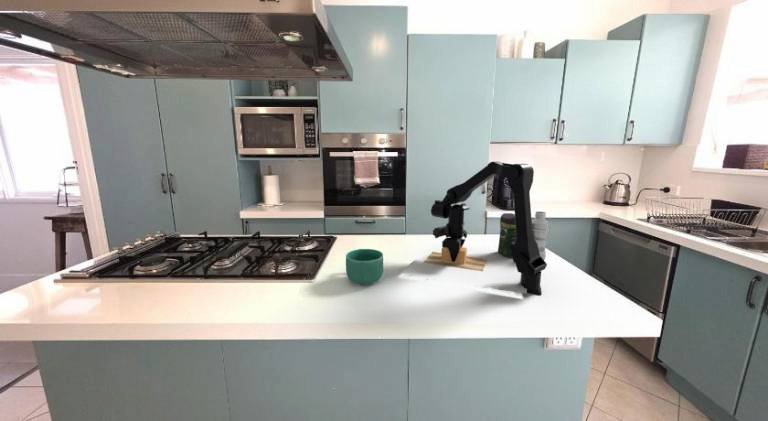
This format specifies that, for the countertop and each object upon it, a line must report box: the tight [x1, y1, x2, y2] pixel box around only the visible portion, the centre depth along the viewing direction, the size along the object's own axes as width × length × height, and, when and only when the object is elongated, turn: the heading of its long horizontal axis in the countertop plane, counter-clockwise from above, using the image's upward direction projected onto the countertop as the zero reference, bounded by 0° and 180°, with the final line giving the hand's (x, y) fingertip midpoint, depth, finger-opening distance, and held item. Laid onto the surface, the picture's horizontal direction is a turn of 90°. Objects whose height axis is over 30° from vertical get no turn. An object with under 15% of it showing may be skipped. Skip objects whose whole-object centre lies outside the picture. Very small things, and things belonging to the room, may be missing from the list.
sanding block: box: [440, 246, 468, 264], centre depth 118 cm, size 5×9×5 cm, turn 66°
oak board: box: [423, 251, 488, 272], centre depth 119 cm, size 14×22×2 cm, turn 66°
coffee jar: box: [497, 212, 516, 259], centre depth 125 cm, size 10×8×19 cm
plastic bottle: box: [532, 211, 550, 261], centre depth 121 cm, size 6×7×20 cm
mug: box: [345, 248, 384, 286], centre depth 104 cm, size 17×13×10 cm
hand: (454, 259), depth 119 cm, fingers closed on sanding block, 5 cm apart
